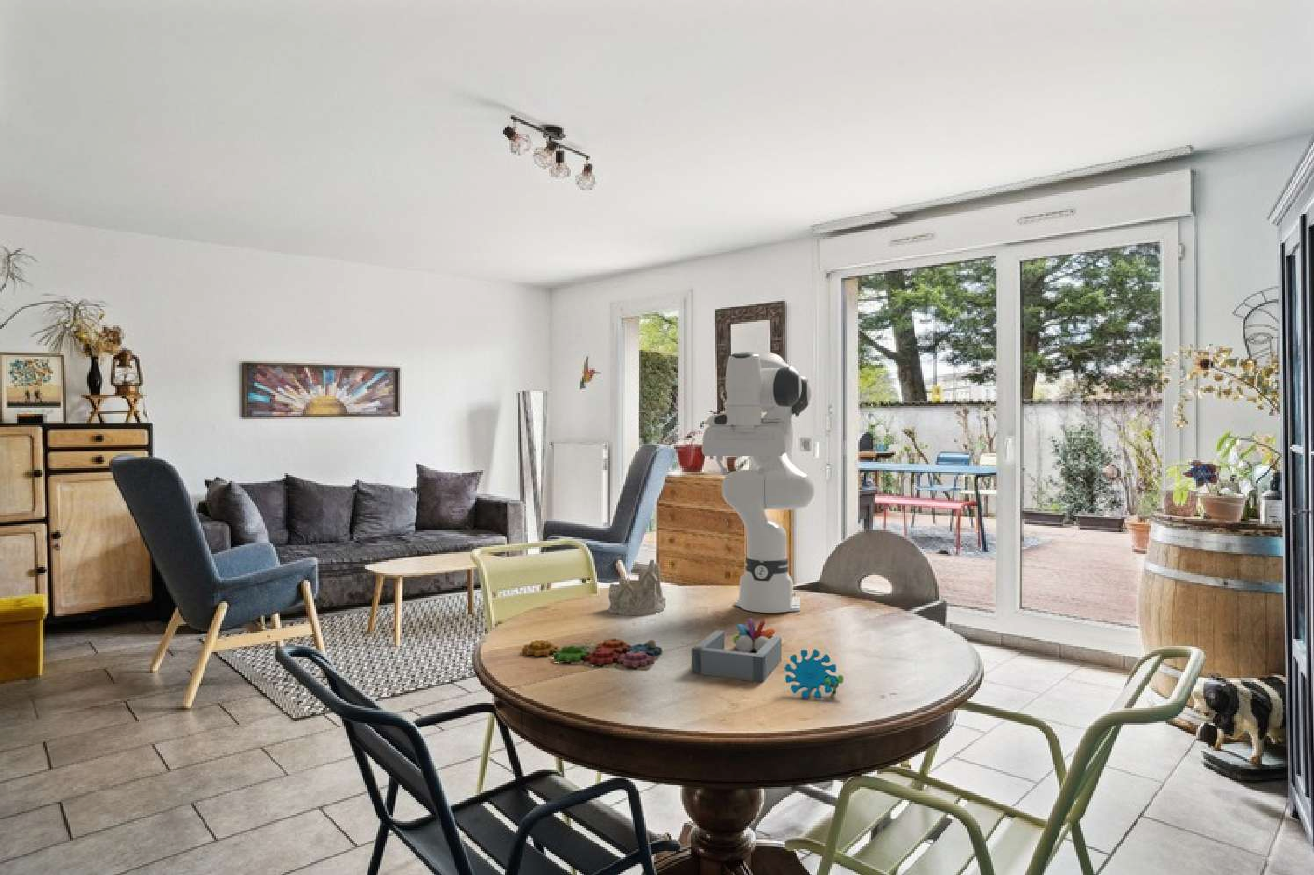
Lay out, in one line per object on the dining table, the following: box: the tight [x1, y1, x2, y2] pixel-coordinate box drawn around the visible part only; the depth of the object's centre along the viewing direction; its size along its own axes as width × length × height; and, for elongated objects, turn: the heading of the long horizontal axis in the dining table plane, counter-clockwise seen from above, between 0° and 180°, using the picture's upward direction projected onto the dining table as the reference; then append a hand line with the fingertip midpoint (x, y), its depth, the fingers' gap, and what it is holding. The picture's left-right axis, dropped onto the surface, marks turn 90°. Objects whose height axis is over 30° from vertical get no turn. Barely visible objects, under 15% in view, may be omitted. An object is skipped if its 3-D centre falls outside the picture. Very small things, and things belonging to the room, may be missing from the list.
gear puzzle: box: [521, 638, 664, 671], centre depth 171 cm, size 31×16×4 cm, turn 76°
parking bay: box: [691, 630, 783, 683], centre depth 163 cm, size 16×15×5 cm
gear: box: [784, 649, 844, 699], centre depth 148 cm, size 11×6×10 cm
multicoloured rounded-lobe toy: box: [732, 618, 776, 653], centre depth 176 cm, size 8×10×7 cm
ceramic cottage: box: [607, 559, 667, 616], centre depth 216 cm, size 16×16×15 cm
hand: (743, 475), depth 188 cm, fingers open, 8 cm apart
